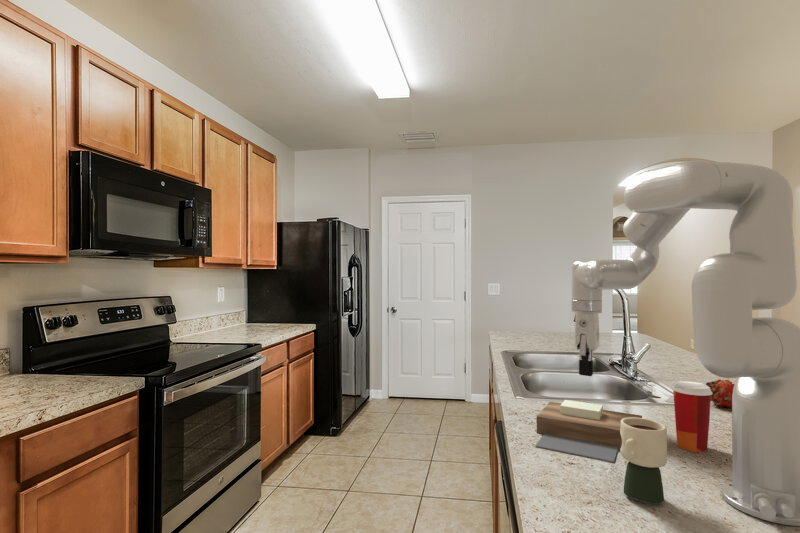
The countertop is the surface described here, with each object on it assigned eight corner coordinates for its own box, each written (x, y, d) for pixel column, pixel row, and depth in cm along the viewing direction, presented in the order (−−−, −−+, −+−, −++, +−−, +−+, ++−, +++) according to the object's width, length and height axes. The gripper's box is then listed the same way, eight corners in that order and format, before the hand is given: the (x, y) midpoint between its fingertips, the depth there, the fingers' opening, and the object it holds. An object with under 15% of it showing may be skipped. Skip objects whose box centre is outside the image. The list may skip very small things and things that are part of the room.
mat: (613, 462, 92) (613, 461, 92) (535, 446, 100) (535, 445, 100) (618, 448, 99) (618, 446, 99) (545, 434, 108) (545, 433, 108)
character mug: (638, 481, 83) (638, 412, 84) (679, 497, 78) (679, 423, 78) (606, 499, 77) (606, 424, 77) (649, 517, 71) (648, 436, 71)
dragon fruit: (708, 414, 127) (729, 414, 133) (737, 403, 122) (757, 403, 127) (691, 386, 132) (712, 387, 138) (718, 374, 126) (739, 375, 132)
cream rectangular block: (599, 420, 106) (599, 411, 106) (560, 413, 111) (560, 405, 111) (602, 413, 111) (602, 405, 111) (565, 407, 116) (565, 399, 116)
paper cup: (704, 442, 102) (704, 381, 102) (719, 456, 95) (718, 390, 95) (666, 439, 104) (666, 379, 105) (677, 452, 97) (677, 387, 97)
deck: (638, 451, 97) (638, 433, 97) (536, 432, 109) (536, 416, 109) (642, 431, 109) (642, 415, 109) (550, 416, 121) (550, 401, 121)
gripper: (597, 310, 111) (597, 383, 111) (605, 305, 123) (604, 371, 124) (566, 308, 114) (565, 379, 115) (576, 303, 127) (576, 367, 127)
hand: (585, 374), depth 119 cm, fingers closed
